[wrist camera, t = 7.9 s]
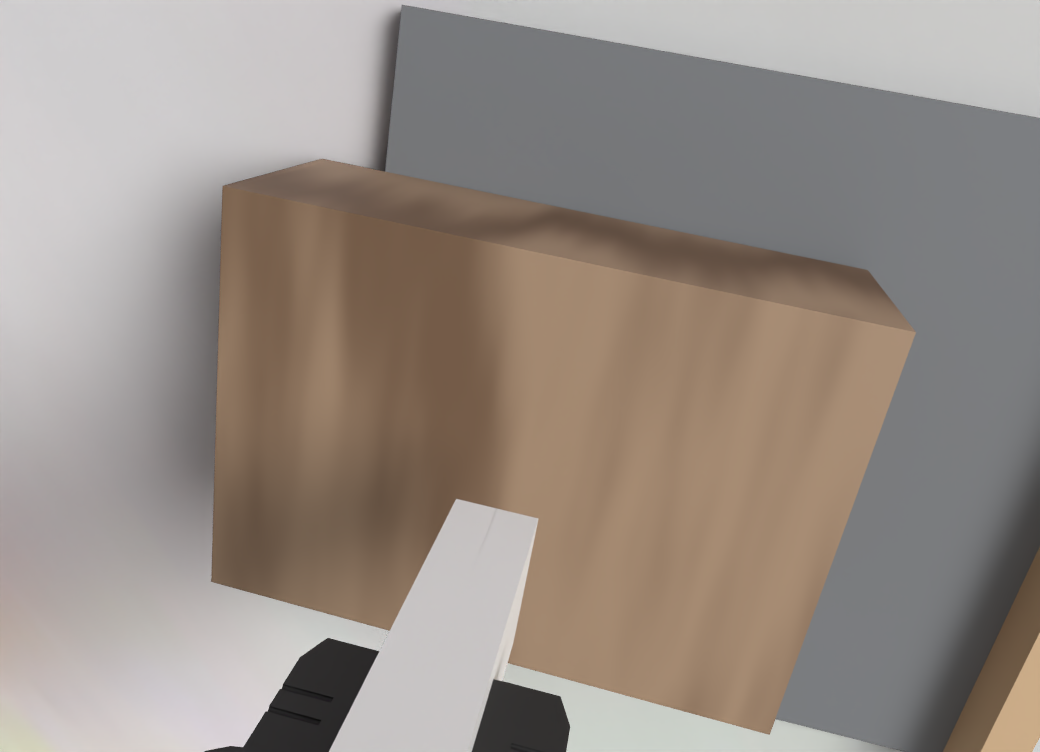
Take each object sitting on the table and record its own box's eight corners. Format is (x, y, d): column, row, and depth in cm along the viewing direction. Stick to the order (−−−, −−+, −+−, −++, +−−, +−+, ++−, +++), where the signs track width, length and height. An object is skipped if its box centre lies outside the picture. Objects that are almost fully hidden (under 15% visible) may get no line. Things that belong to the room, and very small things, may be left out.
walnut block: (211, 581, 21) (769, 734, 20) (222, 185, 18) (915, 332, 16) (301, 485, 26) (756, 601, 24) (325, 157, 22) (866, 268, 21)
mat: (349, 594, 28) (321, 640, 26) (411, 6, 21) (380, 1, 19) (971, 750, 26) (998, 815, 24) (1261, 157, 19) (1337, 171, 17)
